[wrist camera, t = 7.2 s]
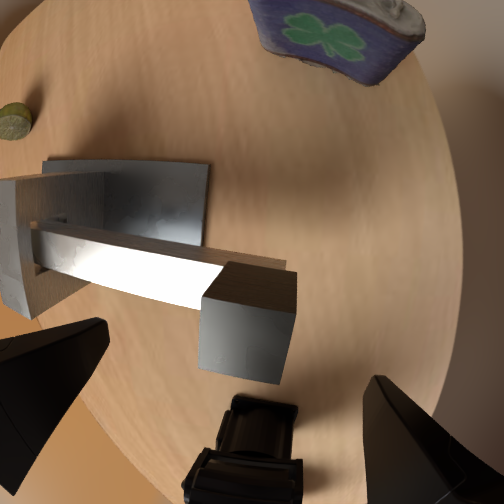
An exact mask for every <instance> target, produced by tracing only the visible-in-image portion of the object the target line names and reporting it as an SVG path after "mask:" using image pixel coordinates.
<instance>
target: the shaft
mask: <svg viewBox="0 0 504 504" xmlns="http://www.w3.org/2000/svg"><path fill="white" fill-rule="evenodd" d="M30 227H31V241H32V252H33V261H34V263H35V264H38V265H41V266H44V267H47V268H50V269H53V270H56V271H59V272H62V273H65V274H68V275H71V276H74V277H78V278H81V279H84V280H87V281H91V282H94V283H97V284H101V285H104V286H108V287H111V288H115V289H119V290H122V291H126V292H130V293H133V294H137V295H141V296H145V297H149V298H153V299H157V300H161V301H165V302H169V303H173V304H177V305H182V306H186V307H190V308H195V309H199V310H200V325H199V350H198V368H199V369H203V370H207V371H211V372H215V373H220V374H224V375H229V376H233V377H238V378H243V379H248V380H253V381H259V382H264V383H270V384H276V385H279V384H280V380H281V377H282V373H283V369H284V365H285V361H286V357H287V353H288V348H289V344H290V340H291V336H292V331H293V327H294V323H295V318H296V311H297V272H292V271H286V270H285V269H286V261H287V260H281V259H275V258H269V257H263V256H257V255H251V254H245V253H239V252H233V251H227V250H221V249H215V248H209V247H203V246H197V245H191V244H185V243H179V242H173V241H167V240H161V239H155V238H150V237H144V236H138V235H132V234H126V233H120V232H114V231H108V230H102V229H97V228H91V227H85V226H79V225H73V224H67V223H62V222H56V221H50V220H44V219H40V220H37V221H33V222H30Z"/></svg>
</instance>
